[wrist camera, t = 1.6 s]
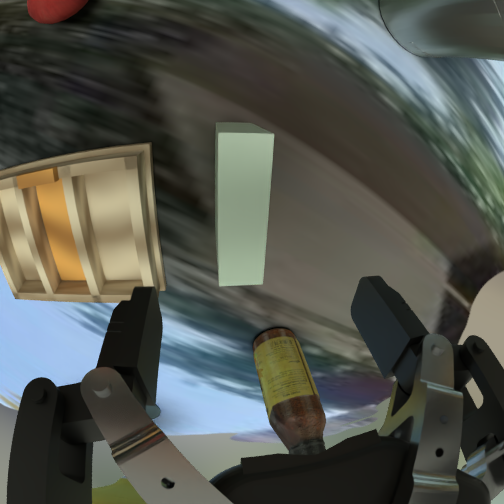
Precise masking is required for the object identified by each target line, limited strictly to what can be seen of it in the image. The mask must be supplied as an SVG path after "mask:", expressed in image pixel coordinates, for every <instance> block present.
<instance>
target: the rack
mask: <svg viewBox="0 0 504 504" xmlns="http://www.w3.org/2000/svg"><path fill="white" fill-rule="evenodd" d="M0 265H1V268H2V270H3V272H4V275H5V277H6V280H7V282H8V284H9V286H10V289H11V291H12V293H13V295H14V297H15V299H24V300H41V301H63V302H99V303H120V302H121V301H122V300H130V299H131V295H132V292H133V289H134V287H135V286H155V288H156V292H157V297H158V296H159V291H165V290H166V279H165V273H164V266H163V259H162V252H161V245H160V237H159V229H158V220H157V210H156V199H155V188H154V174H153V157H152V142H150V143H139V144H130V145H121V146H113V147H106V148H99V149H92V150H86V151H80V152H74V153H69V154H64V155H59V156H54V157H49V158H45V159H41V160H36V161H32V162H28V163H24V164H21V165H17V166H13V167H10V168H6V169H3V170H0Z"/></svg>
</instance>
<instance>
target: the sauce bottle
mask: <svg viewBox="0 0 504 504" xmlns="http://www.w3.org/2000/svg"><path fill="white" fill-rule="evenodd" d="M253 352H254V354H253V355H254V360H255V364H256V369H257V373H258V377H259V381H260V386H261V390H262V394H263V399H264V403H265V406H266V411H267V415H268V419H269V423H270V425H271V427H272V428H273V430H274V431H275V432H276V434H277V435H278V436H279V438H280V439H281V441H282V442H283V444H284V445H285V446H286V448H287V449H288V450H289V454H297V455H316V454H319V453H321V452H323V451H325V450H326V449H325V446H324V444H325V443H324V441H323V430H324V427H325V423H326V418H325V413H324V411H323V408H322V405H321V403H320V397H319V394H318V391H317V389H316V386H315V384H314V381H313V378H312V376H311V373H310V370H309V368H308V365H307V362H306V360H305V357H304V355H303V352H302V349H301V347H300V344H299V342H298V340H297V339H296V337H295V335H294V334H293V333H292V332H291V331H290V330H288V329H284V328H283V329H282V328H280V329H279V328H275V329H271V330H267V331H265V332H264V333H262V334H261V335H259V336H258V337H257V338H256V339H255V341H254V344H253Z"/></svg>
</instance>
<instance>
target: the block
mask: <svg viewBox="0 0 504 504" xmlns="http://www.w3.org/2000/svg"><path fill="white" fill-rule="evenodd" d="M273 145H274V134H273V133H271V132H269V131H267V130H265V129H263V128H261V127H259V126H257V125H255V124H253V123H240V122H216V131H215V232H216V249H217V264H218V278H219V286H236V285H256V284H263V275H264V263H265V251H266V239H267V226H268V214H269V201H270V187H271V173H272V159H273Z"/></svg>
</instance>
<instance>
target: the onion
mask: <svg viewBox="0 0 504 504" xmlns="http://www.w3.org/2000/svg"><path fill="white" fill-rule="evenodd" d="M87 2H88V0H28V1H27V6H28V12H29V15H30V16H31V17H32V18H33V19H35V20H36V21H37V22H39V23H45V24H54V23H57V22H60V21H63V20H66V19H68V18H69V17H71V16H73V15H74V14H76V13H77V12H78V11H79V10H80V9H82V8H83V7H84V6H85V4H86V3H87Z"/></svg>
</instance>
